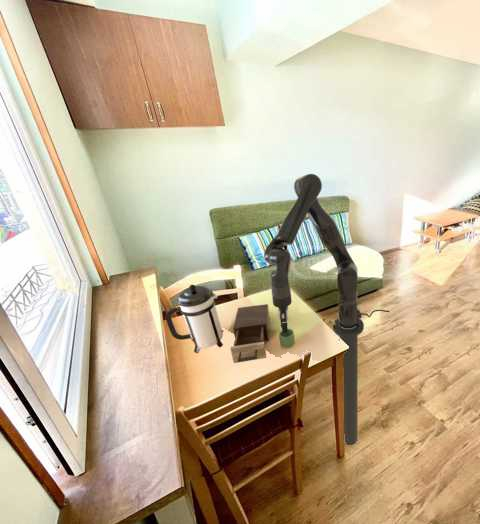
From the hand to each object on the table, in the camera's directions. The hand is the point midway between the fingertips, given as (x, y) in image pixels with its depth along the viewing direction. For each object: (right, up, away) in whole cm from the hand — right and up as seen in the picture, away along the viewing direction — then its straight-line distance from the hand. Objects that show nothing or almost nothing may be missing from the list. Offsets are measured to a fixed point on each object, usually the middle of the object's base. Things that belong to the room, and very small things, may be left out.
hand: (285, 326), depth 120 cm
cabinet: (-17, -5, +11) cm, 21 cm away
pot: (0, -8, +3) cm, 9 cm away
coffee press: (-36, -8, +3) cm, 37 cm away
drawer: (-14, -10, -3) cm, 17 cm away
